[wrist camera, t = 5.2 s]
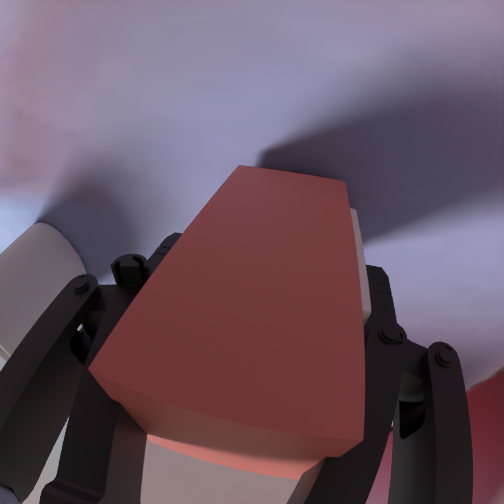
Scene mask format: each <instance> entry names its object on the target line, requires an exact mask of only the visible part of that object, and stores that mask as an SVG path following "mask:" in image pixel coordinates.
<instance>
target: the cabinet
mask: <svg viewBox="0 0 504 504" xmlns="http://www.w3.org/2000/svg"><path fill="white" fill-rule="evenodd" d="M298 481H299V479H290V478H283V477H276V476H270V475H264V474H259V473H253V472H248V471H244V470H239V469H235V468H231V467H227V466H223V465H219V464H215V463H211V462H208V461H204V460H201V459H198V458H194V457H191V456H188V455H185V454H182V453H179V452H176V451H173V450H171V449H168V448H165V447H163V446H160V445H157V444H155V443H152V442H150V441H149V440H148V439H147V441H146V449H145V457H144V466H143V476H142V486H141V498H140V503H141V504H286V503H287V501H288V500H289V498H290V496H291V494H292V492H293V491H294V489H295V487H296V485H297V483H298Z"/></svg>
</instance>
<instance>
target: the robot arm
mask: <svg viewBox="0 0 504 504" xmlns="http://www.w3.org/2000/svg"><path fill="white" fill-rule="evenodd" d="M350 210H351V216H352V222H353V229H354V236H355V243H356V250H357V258H358V267H359V276H360V286H361V298H362V310H363V326H364V348H365V415H364V435H363V441H361V442H360V443H359V444H357V445H356V446H354V447H353V448H352V449H350V450H349V451H347V452H346V453H345V454H343V455H342V456H340V457H325V458H324V459H323V460H321V461H320V462H319V463H317V464H316V465H314V466H313V467H311V468H310V469H308V470H307V471H306V472H304V473H303V474H302V475H301V477H300V479H299V481H298V483H297V485H296V487H295V489H294V491H293V492H292V494H291V496H290V498H289V500H288V501H287V503H286V504H365V503H366V501H367V498H368V496H369V493H370V491H371V488H372V485H373V482H374V480H375V477H376V474H377V472H378V469H379V466H380V463H381V459H382V456H383V453H384V450H385V447H386V443H387V440H388V436H389V433H390V429H391V425H392V421H393V449H392V466H391V479H390V489H389V497H388V504H472V494H473V457H472V439H471V428H470V418H469V411H468V403H467V397H466V391H465V385H464V380H463V374H462V370H461V365H460V360H459V357H458V355H457V352H456V351H455V350H454V349H453V347H451V346H450V345H448V344H447V343H444V342H435V343H433V344H432V345H430V347H429V348H428V349H427V348H425V347H423V346H420V345H418V344H415V343H413V342H411V341H410V340H408V339H407V335H406V333H405V331H404V329H403V328H402V327H401V326H400V325H399V324H397V320H396V314H395V309H394V303H393V298H392V295H391V294H392V293H391V288H390V283H389V278H388V276H387V274H386V273H385V271H384V270H383V269H382V267H376V266H371V265H366V264H365V257H364V251H363V245H362V239H361V233H360V228H359V222H358V217H357V212H356V209H351V208H350ZM181 235H182V234H181V233H173V234H172V235H170V236H168V237H167V238H165V239H164V241H163V242H162V243H161V244H160V246H159V247H158V248H157V249H156V250H155V253H153V254H152V255H151V257H150V258H149V259H148V260H147V259H146V258H145V257H144V256H142V255H139V254H127V255H124V256H121V257H119V258H118V259H116V260H115V261H114V262H113V263H112V264H111V269H112V272H113V275H114V278H115V281H116V284H115V285H99V284H98V281H97V279H96V278H95V276H93V275H91V274H82V275H78V276H76V277H74V278H73V279H72V280H71V281H69V282H68V284H67V285H66V286H65V287H64V288H63V289H62V290H61V292H60V293H59V294H58V295H57V296H56V298H55V299H54V300H53V301H52V302H51V304H50V305H49V306H48V307H47V308H46V310H45V311H44V312H43V313H42V315H41V316H40V317H39V318H38V320H37V321H36V322H35V324H34V325H33V326H32V328H31V329H30V330H29V332H28V333H27V334H26V336H25V337H24V338H23V340H22V341H21V342H20V344H19V345H18V347H17V348H16V349H15V351H14V352H13V354H12V355H11V357H10V358H9V359H8V361H7V362H6V364H5V365H4V367H3V368H2V370H1V372H0V504H22V502H23V501H24V500H25V499H26V498H27V497H28V496H29V495H30V493H31V492H32V490H33V489H34V486H35V485H36V483H37V481H38V479H39V477H40V474H41V472H42V470H43V468H44V466H45V463H46V461H47V459H48V457H49V455H50V453H51V451H52V449H53V446H54V445H55V443H56V441H57V439H58V437H59V435H60V433H61V431H62V429H63V427H64V425H65V423H66V421H67V419H68V417H69V420H68V424H67V428H66V432H65V437H64V441H63V445H62V450H61V455H60V460H59V466H58V471H57V475H56V477H55V479H54V480H53V481H51V482H50V483H48V484H46V485H45V487H44V488H43V490H42V492H41V496H40V503H39V504H141V503H140V498H141V486H142V476H143V466H144V457H145V449H146V441H147V433H146V432H145V431H144V430H143V429H142V428H141V426H140V425H139V424H138V423H137V422H136V421H135V420H134V419H133V417H132V416H131V415H130V414H129V413H128V412H127V410H126V409H125V408H124V407H123V406H122V404H121V403H120V402H117V401H115V400H113V399H111V398H110V397H109V395H108V394H107V393H106V392H105V390H104V389H103V388H102V387H101V385H100V384H99V383H98V382H97V380H96V379H95V378H94V376H93V375H92V374H91V372H90V371H89V369H88V368H89V367H90V365H91V363H92V362H93V360H94V359H95V357H96V355H97V354H98V352H99V351H100V349H101V348H102V346H103V344H104V343H105V341H106V340H107V338H108V337H109V335H110V334H111V332H112V331H113V329H114V328H115V326H116V325H117V323H118V322H119V320H120V319H121V317H122V316H123V314H124V313H125V312H126V310H127V309H128V307H129V306H130V304H131V303H132V301H133V300H134V299H135V297H136V296H137V294H138V293H139V292H140V290H141V289H142V287H143V286H144V285H145V283H146V282H147V280H148V279H149V278H150V276H151V275H152V274H153V272H154V271H155V270H156V268H157V267H158V265H159V264H160V263H161V261H162V260H163V259H164V257H165V256H166V255H167V253H168V252H169V251H170V250H171V248H172V247H173V246H174V244H175V243H176V242H177V240H178V239H179V238H180V237H181ZM80 324H81V325H82V326H83V327H82V328H81V329H80V330H79V331H77V329H78V327H79V326H80ZM69 415H70V416H69Z"/></svg>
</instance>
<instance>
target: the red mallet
mask: <svg viewBox="0 0 504 504" xmlns="http://www.w3.org/2000/svg"><path fill="white" fill-rule="evenodd" d="M88 369H89V371H90V372H91V374H92V375H93V376H94V378H95V379H96V380H97V382H98V383H99V384H100V385H101V387H102V388H103V389H104V390H105V392H106V393H107V394H108V395H109V397H110V398H111V399H113V400H115V401H117V402H120V403H121V404H122V406H123V407H124V408H125V409H126V410H127V412H128V413H129V414H130V415H131V416H132V417H133V419H134V420H135V421H136V422H137V423H138V424H139V425H140V426H141V428H142V429H143V430H144V431H145V432H146V433H147V439H148V440H149V441H150V442H152V443H155V444H157V445H160V446H163V447H165V448H168V449H171V450H173V451H176V452H179V453H182V454H185V455H188V456H191V457H194V458H198V459H201V460H204V461H208V462H211V463H215V464H219V465H223V466H227V467H231V468H235V469H239V470H244V471H248V472H253V473H259V474H264V475H270V476H276V477H283V478H290V479H300V477H301V475H302V474H303V473H304V472H306V471H307V470H308V469H310V468H311V467H313V466H314V465H316V464H317V463H319V462H320V461H321V460H323V459H324V458H325V457H340V456H342V455H343V454H345V453H346V452H347V451H349V450H350V449H352V448H353V447H354V446H356V445H357V444H359V443H360V442H361V441H363V435H364V415H365V348H364V326H363V310H362V298H361V286H360V276H359V267H358V258H357V250H356V243H355V236H354V229H353V222H352V216H351V210H350V204H349V198H348V193H347V187H346V182H345V181H341V180H335V179H330V178H324V177H318V176H313V175H307V174H300V173H294V172H287V171H280V170H273V169H266V168H258V167H249V166H241V165H239V166H238V167H237V168H236V169H235V171H234V172H233V173H232V174H231V175H230V176H229V178H228V179H227V180H226V181H225V182H224V183H223V185H222V186H221V187H220V188H219V189H218V191H217V192H216V193H215V194H214V195H213V197H212V198H211V199H210V200H209V201H208V203H207V204H206V205H205V206H204V208H203V209H202V210H201V211H200V213H199V214H198V215H197V216H196V217H195V219H194V220H193V221H192V223H191V224H190V225H189V226H188V228H187V229H186V230H185V231H184V233H183V234H182V235H181V237H180V238H179V239H178V240H177V242H176V243H175V244H174V246H173V247H172V248H171V250H170V251H169V252H168V253H167V255H166V256H165V257H164V259H163V260H162V261H161V263H160V264H159V265H158V267H157V268H156V270H155V271H154V272H153V274H152V275H151V276H150V278H149V279H148V280H147V282H146V283H145V285H144V286H143V287H142V289H141V290H140V292H139V293H138V294H137V296H136V297H135V299H134V300H133V301H132V303H131V304H130V306H129V307H128V309H127V310H126V312H125V313H124V314H123V316H122V317H121V319H120V320H119V322H118V323H117V325H116V326H115V328H114V329H113V331H112V332H111V334H110V335H109V337H108V338H107V340H106V341H105V343H104V344H103V346H102V348H101V349H100V351H99V352H98V354H97V355H96V357H95V359H94V360H93V362H92V363H91V365H90V367H89V368H88Z"/></svg>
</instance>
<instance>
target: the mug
mask: <svg viewBox="0 0 504 504" xmlns="http://www.w3.org/2000/svg"><path fill="white" fill-rule="evenodd" d="M82 274H87V273H86V269H85V267H84V264H83V262H82V260H81V258H80V256H79V255H78V253H77V251H76V250H75V248H74V247H73V246H72V244H71V243H70V242H69V241H68V239H67V238H66V237H65V236H64V235H63V234H62V233H61V232H59V231H58V230H57V229H56V228H54V227H53V226H51V225H49V224H46V223H36V224H34V225H32V226H31V227H30V228H28V229H27V230H26V231H25V232H24V233H23V234H22V235H21V236H19V237H18V238H17V239H16V240H15V241H14V242H13V243H12V244H11V245H10V246H9V247H8V248H6V249H5V250H4V251H3V252H2V253H1V254H0V356H1V357H2V358H3V359H4V360H5V361H6V362H7V361H8V359H9V358H10V357H11V355H12V354H13V352H14V351H15V349H16V348H17V347H18V345H19V344H20V342H21V341H22V340H23V338H24V337H25V336H26V334H27V333H28V332H29V330H30V329H31V328H32V326H33V325H34V324H35V322H36V321H37V320H38V318H39V317H40V316H41V315H42V313H43V312H44V311H45V310H46V308H47V307H48V306H49V305H50V304H51V302H52V301H53V300H54V299H55V298H56V296H57V295H58V294H59V293H60V292H61V290H62V289H63V288H64V287H65V286H66V285H67V284H68V282H69V281H71V280H72V279H73V278H74V277H76V276H78V275H82Z"/></svg>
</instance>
